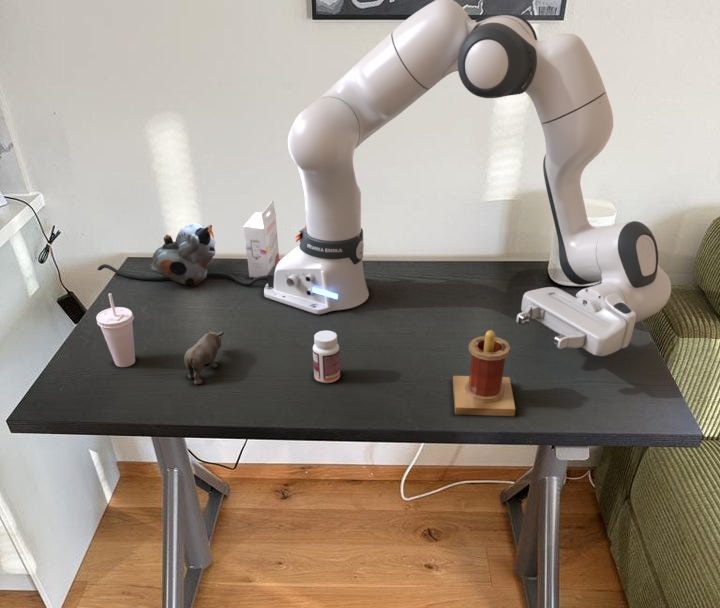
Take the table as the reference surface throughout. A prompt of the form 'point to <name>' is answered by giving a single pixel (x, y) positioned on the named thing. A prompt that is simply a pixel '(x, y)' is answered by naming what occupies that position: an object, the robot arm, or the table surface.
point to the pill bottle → (326, 357)
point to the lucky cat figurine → (185, 254)
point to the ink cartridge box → (261, 242)
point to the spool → (486, 370)
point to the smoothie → (118, 333)
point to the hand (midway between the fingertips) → (537, 331)
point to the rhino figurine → (202, 354)
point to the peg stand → (473, 407)
